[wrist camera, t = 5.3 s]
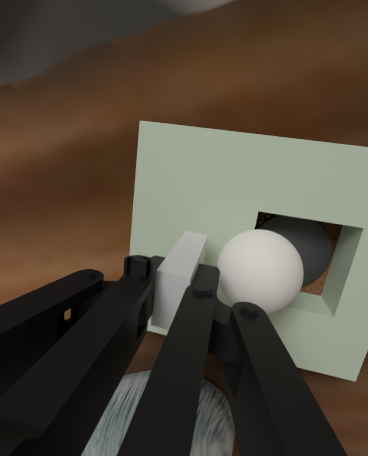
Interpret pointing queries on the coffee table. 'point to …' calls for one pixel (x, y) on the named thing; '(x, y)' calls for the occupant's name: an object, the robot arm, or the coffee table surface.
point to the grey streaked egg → (204, 427)
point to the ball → (260, 270)
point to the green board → (266, 223)
